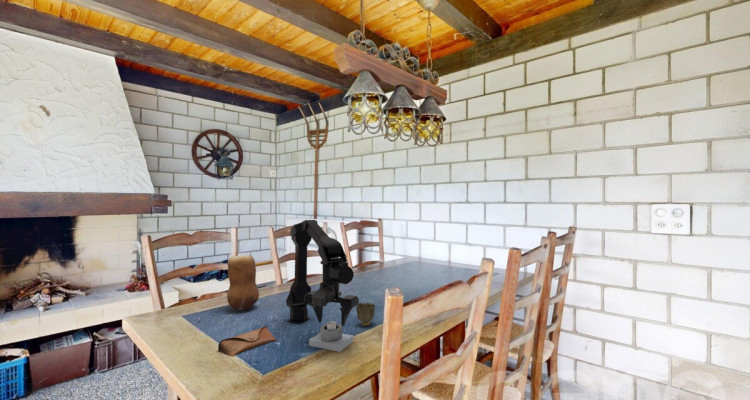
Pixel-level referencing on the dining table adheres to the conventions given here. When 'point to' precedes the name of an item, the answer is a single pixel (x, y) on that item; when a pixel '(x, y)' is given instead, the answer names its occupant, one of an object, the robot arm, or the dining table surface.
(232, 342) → the sunglasses case
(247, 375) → the dining table surface
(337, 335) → the hub ring
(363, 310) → the cup
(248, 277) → the butternut squash
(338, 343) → the shaft block
